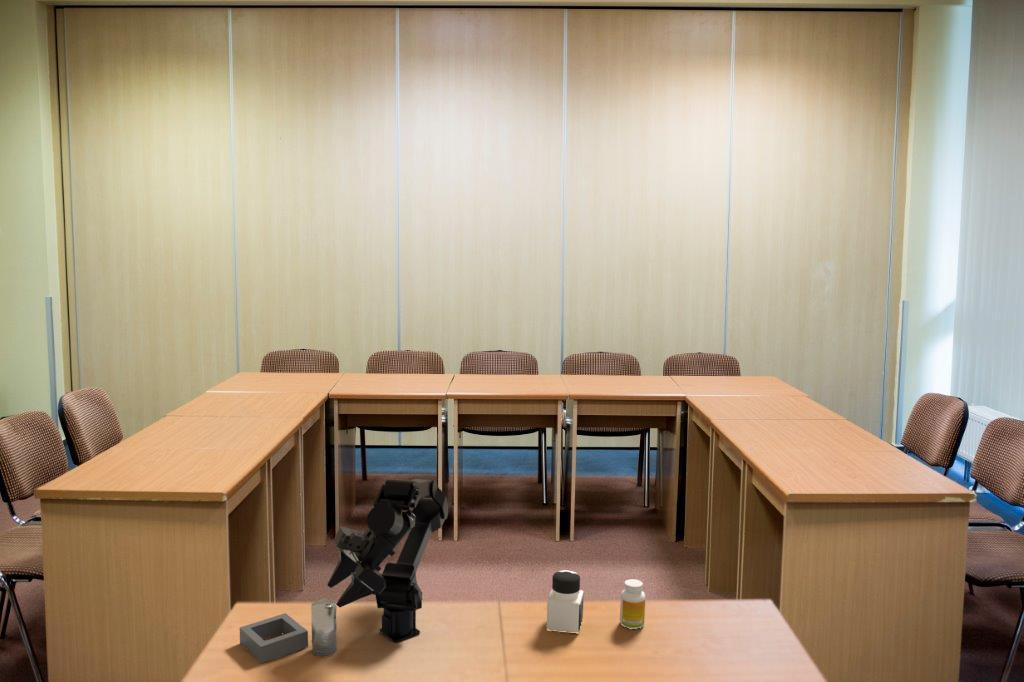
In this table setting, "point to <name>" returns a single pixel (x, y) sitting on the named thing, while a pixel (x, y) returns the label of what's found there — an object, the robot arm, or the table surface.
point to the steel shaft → (324, 627)
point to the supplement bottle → (632, 604)
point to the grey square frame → (275, 647)
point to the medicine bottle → (565, 602)
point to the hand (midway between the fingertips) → (333, 595)
